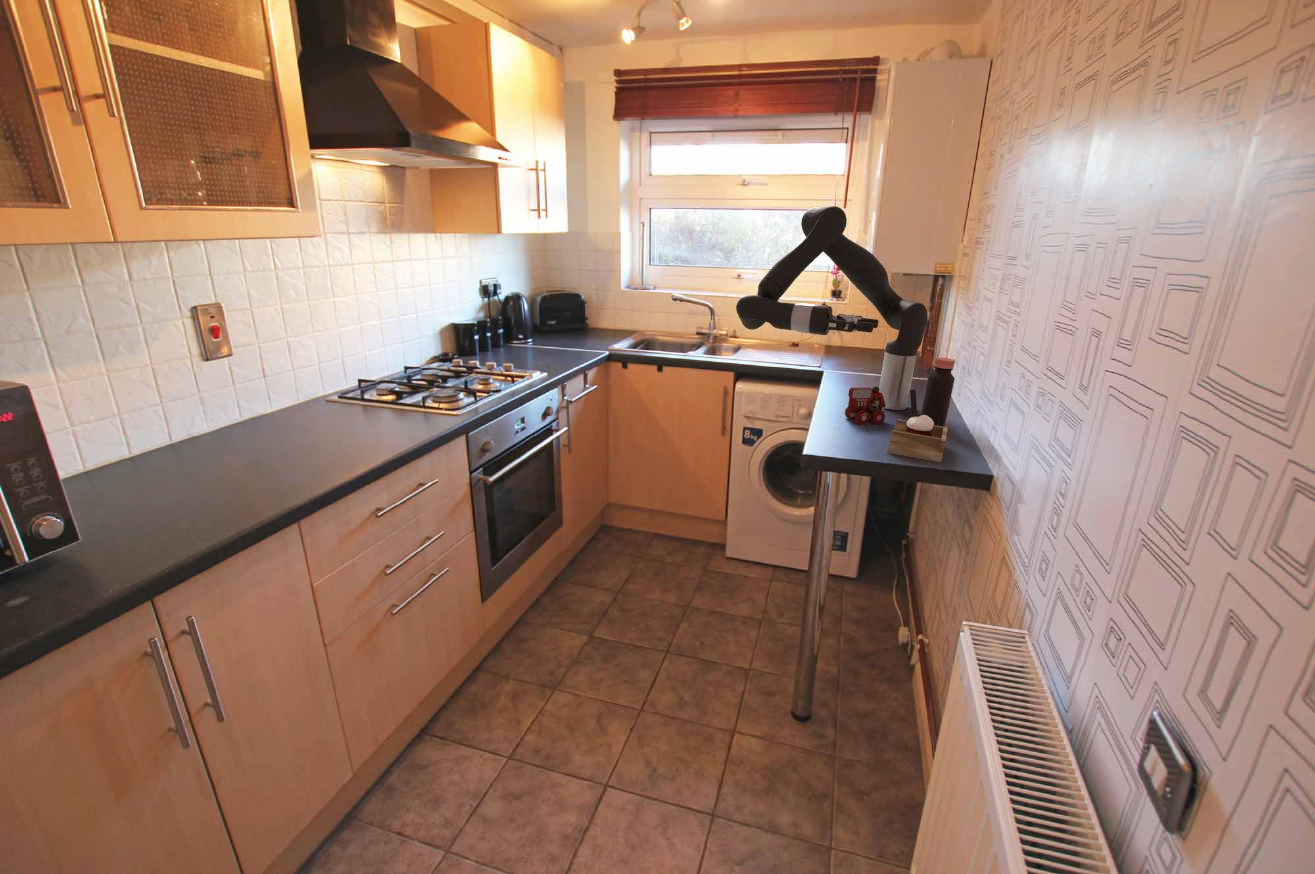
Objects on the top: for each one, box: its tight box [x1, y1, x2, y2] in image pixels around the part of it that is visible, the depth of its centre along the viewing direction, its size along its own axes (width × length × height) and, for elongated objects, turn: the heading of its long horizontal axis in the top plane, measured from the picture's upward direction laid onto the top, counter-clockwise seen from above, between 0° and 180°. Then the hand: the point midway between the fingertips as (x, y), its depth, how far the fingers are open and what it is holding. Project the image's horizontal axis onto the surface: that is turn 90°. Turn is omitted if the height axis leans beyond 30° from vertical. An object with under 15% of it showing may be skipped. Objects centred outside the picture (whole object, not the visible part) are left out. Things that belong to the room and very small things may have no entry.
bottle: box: [920, 357, 956, 427], centre depth 172 cm, size 7×7×20 cm
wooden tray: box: [886, 418, 949, 463], centre depth 156 cm, size 14×12×6 cm
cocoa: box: [906, 388, 934, 437], centre depth 154 cm, size 10×6×12 cm, turn 176°
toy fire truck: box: [844, 385, 886, 426], centre depth 177 cm, size 7×12×10 cm, turn 106°
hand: (875, 326), depth 153 cm, fingers open, 8 cm apart
